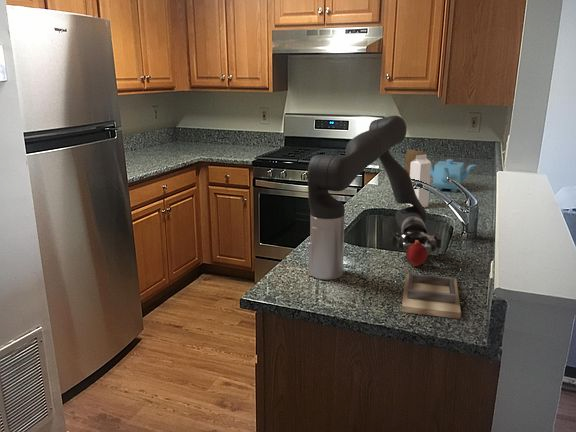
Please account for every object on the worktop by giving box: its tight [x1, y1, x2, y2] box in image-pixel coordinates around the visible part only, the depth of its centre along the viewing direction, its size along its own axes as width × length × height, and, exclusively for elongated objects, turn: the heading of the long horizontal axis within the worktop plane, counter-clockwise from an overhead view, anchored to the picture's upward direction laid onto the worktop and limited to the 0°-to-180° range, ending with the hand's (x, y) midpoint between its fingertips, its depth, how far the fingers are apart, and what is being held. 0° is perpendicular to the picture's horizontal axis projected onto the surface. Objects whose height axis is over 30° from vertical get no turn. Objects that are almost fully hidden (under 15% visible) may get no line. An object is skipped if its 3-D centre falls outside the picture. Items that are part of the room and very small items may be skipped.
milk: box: [407, 153, 432, 208], centre depth 201 cm, size 6×6×22 cm
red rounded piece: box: [405, 240, 428, 268], centre depth 138 cm, size 6×6×8 cm
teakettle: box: [430, 158, 478, 193], centre depth 232 cm, size 19×19×15 cm
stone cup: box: [404, 149, 426, 175], centre depth 263 cm, size 15×12×15 cm
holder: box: [401, 273, 462, 320], centre depth 119 cm, size 13×20×4 cm, turn 164°
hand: (417, 247), depth 137 cm, fingers open, 8 cm apart
